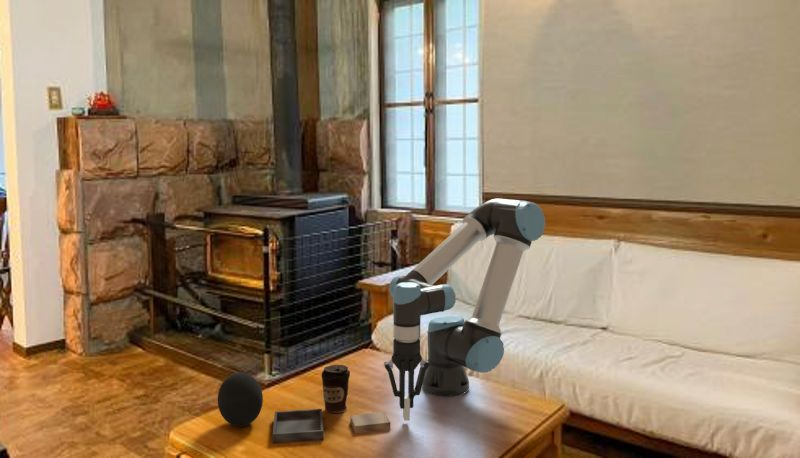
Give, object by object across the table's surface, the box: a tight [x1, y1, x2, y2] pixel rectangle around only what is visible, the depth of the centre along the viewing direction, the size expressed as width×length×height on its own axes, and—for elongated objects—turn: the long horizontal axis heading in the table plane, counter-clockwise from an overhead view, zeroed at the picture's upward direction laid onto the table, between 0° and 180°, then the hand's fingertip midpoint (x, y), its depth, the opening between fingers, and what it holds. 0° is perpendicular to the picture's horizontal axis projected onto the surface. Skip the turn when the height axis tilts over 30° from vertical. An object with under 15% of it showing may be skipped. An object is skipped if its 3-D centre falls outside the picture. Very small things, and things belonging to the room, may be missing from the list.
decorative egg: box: [217, 372, 264, 427], centre depth 183 cm, size 12×12×15 cm
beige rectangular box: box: [349, 411, 391, 434], centre depth 184 cm, size 10×7×2 cm
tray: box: [272, 408, 325, 444], centre depth 181 cm, size 13×14×2 cm
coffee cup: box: [321, 364, 351, 414], centre depth 193 cm, size 9×8×13 cm
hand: (406, 418), depth 185 cm, fingers closed
